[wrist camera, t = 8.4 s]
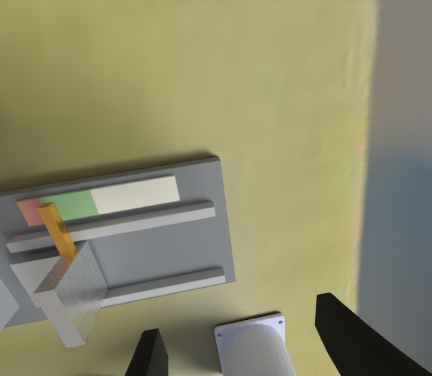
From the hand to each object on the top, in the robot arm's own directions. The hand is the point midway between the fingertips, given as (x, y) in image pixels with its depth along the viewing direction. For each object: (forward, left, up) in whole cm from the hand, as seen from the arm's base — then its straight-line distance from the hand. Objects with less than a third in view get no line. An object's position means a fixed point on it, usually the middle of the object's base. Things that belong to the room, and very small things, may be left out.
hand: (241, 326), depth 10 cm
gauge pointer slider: (0, +13, -9) cm, 16 cm away
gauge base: (-1, +10, -10) cm, 14 cm away
